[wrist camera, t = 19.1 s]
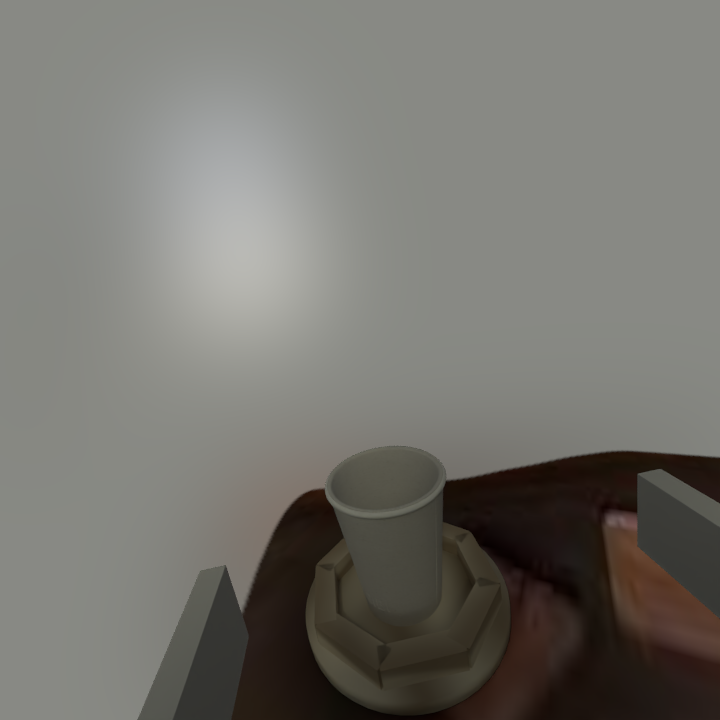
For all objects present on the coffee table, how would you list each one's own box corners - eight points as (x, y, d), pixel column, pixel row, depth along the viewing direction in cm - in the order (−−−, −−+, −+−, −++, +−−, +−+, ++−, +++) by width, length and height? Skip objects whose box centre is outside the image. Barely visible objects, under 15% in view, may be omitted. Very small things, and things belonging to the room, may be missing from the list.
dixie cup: (390, 537, 34) (373, 437, 31) (479, 575, 28) (466, 457, 26) (326, 607, 28) (299, 490, 25) (423, 672, 22) (400, 531, 20)
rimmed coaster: (463, 518, 36) (461, 495, 36) (559, 681, 22) (558, 648, 21) (311, 550, 35) (305, 528, 35) (303, 744, 21) (294, 711, 20)
